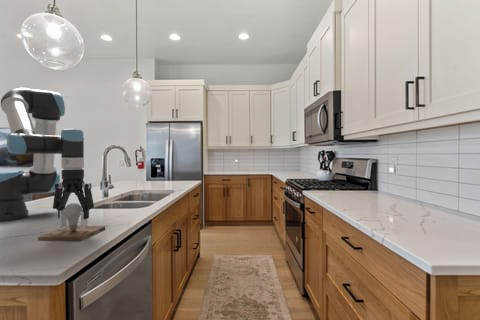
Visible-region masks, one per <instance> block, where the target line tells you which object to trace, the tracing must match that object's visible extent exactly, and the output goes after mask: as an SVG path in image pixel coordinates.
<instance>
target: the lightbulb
mask: <svg viewBox="0 0 480 320" xmlns="http://www.w3.org/2000/svg"><path fill="white" fill-rule="evenodd" d="M82 210H83V209H82V207H81V204H80V203H76V202H75V203H74V202H72V203H69V204H66V206H65V209H64V214H65V216H66V218H67V222H68V226H69V227H70V230H72V231H75V230H76V229H77V226H78V225H79V219H80V218H81V211H82Z"/></svg>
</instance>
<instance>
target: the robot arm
mask: <svg viewBox="0 0 480 320" xmlns="http://www.w3.org/2000/svg"><path fill="white" fill-rule="evenodd" d="M0 107H1V110H2V111H3V113H5V115H6V119H7V122H8V125H9V129H10V133H8V134H7V136H6V148H7V152H8V153H10V154H12V155H13V154H14V155H15V154H17V155H33V163H32V166H30V167H29V171H27V172H26V171H24V169H16V170H15V169H14V170H8V171H7V170H6V171H0V222H3V221H5V222H6V221H14V220H18V219H23V218H27V217H29V215H30V213H29V210H28V208H27V204H26V202H25V196H30V195H43V194H51V193H52V194H53V193H54V197H53V204H52V209H53V210H57V218H58V219H59V229H61V228H64V227H66V226H68V224H67V222H68V219H67V218H66V216H65V214H64V209H65V207H66V206H67V203H68V201H69V198H70V196H71V194H74V195H75V196H76V197H77V199H78V201H79V205H80V206H81V207H82V211H81V215H80V226H81V228H85V227H87V226H88V219H90V210H92V209H94V208H95V205H94V200H93V194H92V183H87V182H86V183H85V181H84V178H85V170H84V169H83V168H85V160H84V159H85V158H84V157H85V156H84V154H85V153H84V149H85V147H84V146H85V145H84V143H85V142H84V140H85V137H84V131H83V130H81V129H76V128H63V129H61V130H60V135H58V134H57V133H56V131H57V130H56V129H57V123H58V122H59V121H60V120H61V117H64V116H65V113H66V109H65V108H66V106H65V101H64V97H63V96H62V95H61V94H60V93H59V92H55V91H50V90H41V89H35V88H34V89H33V88H28V87H19V88H17V87H16V88H14V89H10V90H8V92H6V93H5V94H4V95H3V96H2V98H1V99H0ZM30 114H31V116H30ZM31 118H32V119H33V120H34V121H35V124H33V122H32V119H31ZM56 134H57V135H56ZM55 155H60V156H61V157H60V159H61V169H62V170H61V173H60V172H59V171H58V170H57V168H56V167H55V166H54V164H55V163H54V160H55ZM60 175H61V176H60ZM60 178H61V179H60ZM61 180H62V182H61V183H60V181H61Z"/></svg>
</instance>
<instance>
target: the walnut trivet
mask: <svg viewBox="0 0 480 320" xmlns="http://www.w3.org/2000/svg"><path fill="white" fill-rule="evenodd" d="M104 230H106V226H105V225H87V227H85V228H81V225H77V229H76V230H75V231H72V230H70V227H69V225H67V226H65V227H62V228H59V229H56V230H53V231H50V232H48V233H44V234H42V235H39V236H37V240H38V241H61V242H62V241H63V242H64V241H65V242H67V241H68V242H71V241H72V242H80V241H83V240H85V239H87V238H89V237H92V236H93V235H95V234H98V233H100V232H102V231H104Z"/></svg>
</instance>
